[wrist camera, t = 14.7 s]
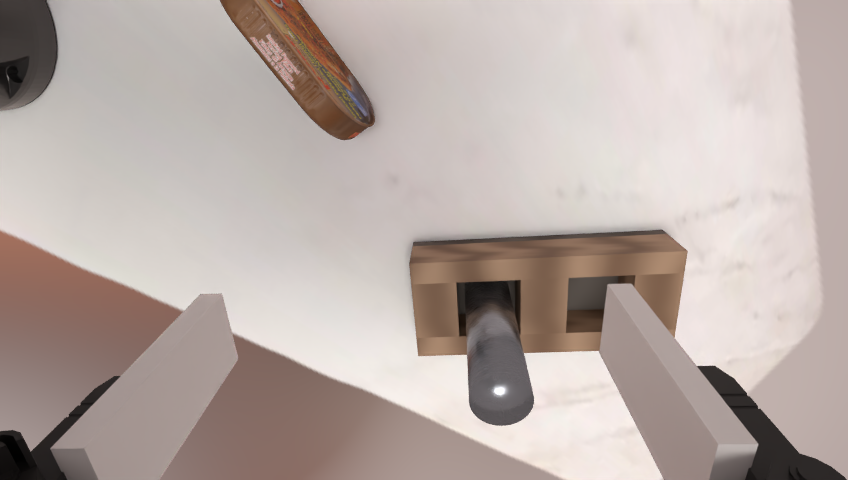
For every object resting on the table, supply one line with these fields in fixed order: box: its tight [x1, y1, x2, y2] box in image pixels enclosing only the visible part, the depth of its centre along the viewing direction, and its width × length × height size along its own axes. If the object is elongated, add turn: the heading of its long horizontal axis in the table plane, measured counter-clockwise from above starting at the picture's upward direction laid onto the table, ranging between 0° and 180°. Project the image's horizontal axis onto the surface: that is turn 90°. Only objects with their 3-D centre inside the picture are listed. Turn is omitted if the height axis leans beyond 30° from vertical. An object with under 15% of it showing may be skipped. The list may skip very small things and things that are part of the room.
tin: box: [220, 0, 375, 140], centre depth 36 cm, size 15×3×8 cm, turn 36°
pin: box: [465, 281, 534, 426], centre depth 39 cm, size 4×4×16 cm
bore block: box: [409, 230, 687, 356], centre depth 44 cm, size 24×10×5 cm, turn 94°
